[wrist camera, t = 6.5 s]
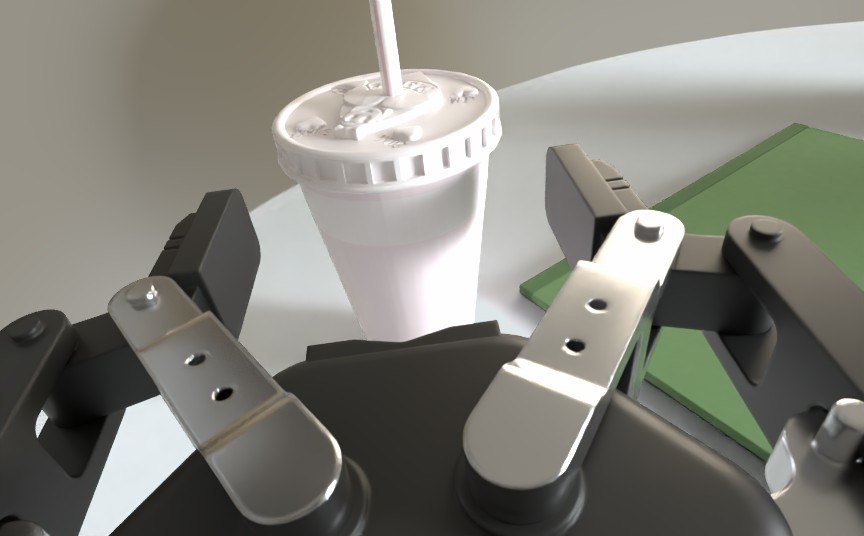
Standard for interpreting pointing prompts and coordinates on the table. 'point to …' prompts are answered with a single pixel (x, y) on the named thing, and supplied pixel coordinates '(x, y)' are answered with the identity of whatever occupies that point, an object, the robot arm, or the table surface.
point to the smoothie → (396, 186)
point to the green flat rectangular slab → (710, 215)
